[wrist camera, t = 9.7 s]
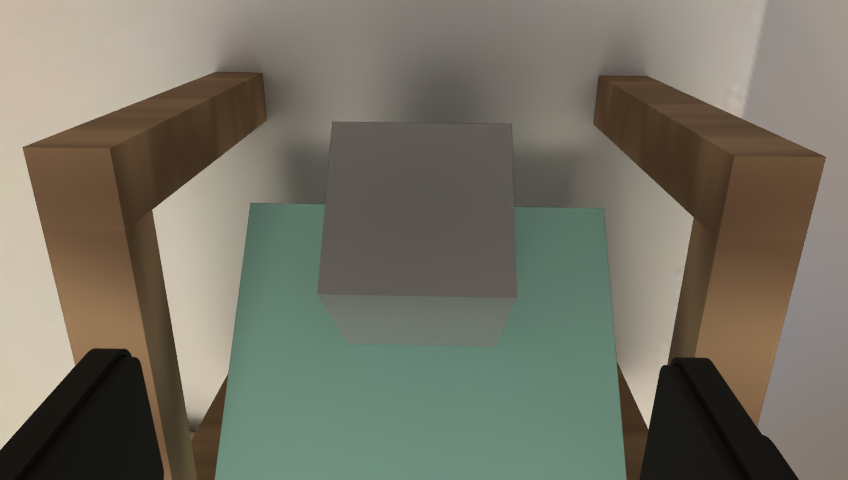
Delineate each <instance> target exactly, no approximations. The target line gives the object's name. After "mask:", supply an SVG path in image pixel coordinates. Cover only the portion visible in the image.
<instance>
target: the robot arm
mask: <svg viewBox="0 0 848 480" xmlns="http://www.w3.org/2000/svg"><path fill="white" fill-rule="evenodd" d="M0 480H164V468H163V463H162V459H161V454H160V449H159V445H158V440H157V436H156V431H155V426H154V422H153V417H152V412H151V408H150V403H149V399H148V394H147V389H146V385H145V380H144V375H143V371H142V366H141V363H140V360H139V359H138V358H137V357H132V356H131V353H130V352H129V351H128V350H127V349H113V348H94V349H91V350H90V351H89V352H87V354H86V355H85V356H84V357H83V358H82V359H81V360H80V361H79V362H78V364H77V365H76V366H75V367H74V368H73V369H72V370H71V371H70V373H69V374H68V375H67V376H66V377H65V378H64V379H63V380H62V382H61V383H60V384H59V385H58V386H57V387H56V388H55V389H54V391H53V392H52V393H51V394H50V395H49V396H48V397H47V398H46V399H45V401H44V402H43V403H42V404H41V405H40V406H39V407H38V408H37V410H36V411H35V412H34V413H33V414H32V415H31V416H30V417H29V419H28V420H27V421H26V422H25V423H24V424H23V425H22V426H21V428H20V429H19V430H18V431H17V432H16V433H15V434H14V435H13V436H12V438H11V439H10V440H9V441H8V442H7V443H6V444H5V445H4V447H3V448H2V449H1V450H0ZM639 480H799V479H798V478H797V476H796V475H795V473H794V472H793V471H792V469H791V468H790V466H789V465H788V463H787V462H786V461H785V459H784V458H783V456H782V455H781V453H780V452H779V450H778V449H777V448H776V446H775V445H774V443H773V442H772V441H771V440H770V439H769V438H768V437H766V436H764V435H762V434H761V433H760V431H759V430H758V428H757V427H756V425H755V424H754V422H753V421H752V419H751V418H750V416H749V415H748V414H747V412H746V411H745V409H744V408H743V406H742V405H741V403H740V402H739V400H738V399H737V397H736V396H735V394H734V393H733V392H732V390H731V389H730V387H729V386H728V384H727V383H726V381H725V380H724V378H723V377H722V375H721V374H720V373H719V371H718V370H717V368H716V367H715V365H714V364H713V362H712V361H711V360H710V359H709V358H698V357H675V358H673V359H672V361H671V363H670V365H664V366H662V368H661V370H660V373H659V379H658V384H657V389H656V394H655V400H654V405H653V410H652V415H651V420H650V426H649V431H648V436H647V441H646V447H645V452H644V457H643V462H642V467H641V473H640V478H639Z"/></svg>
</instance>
